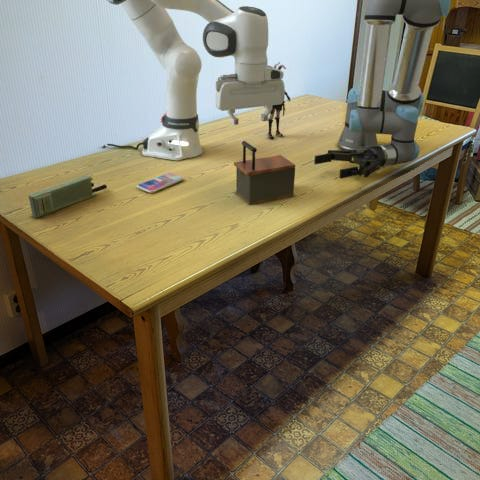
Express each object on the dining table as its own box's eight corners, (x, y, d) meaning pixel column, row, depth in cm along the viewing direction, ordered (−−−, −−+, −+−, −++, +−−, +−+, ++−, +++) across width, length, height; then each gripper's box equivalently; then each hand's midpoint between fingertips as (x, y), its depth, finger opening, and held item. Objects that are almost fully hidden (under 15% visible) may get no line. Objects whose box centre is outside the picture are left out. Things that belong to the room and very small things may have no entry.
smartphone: (184, 177, 167) (150, 191, 157) (184, 180, 167) (151, 194, 157) (168, 171, 171) (134, 185, 161) (168, 174, 171) (135, 188, 161)
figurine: (266, 142, 202) (269, 63, 187) (256, 138, 206) (258, 61, 191) (291, 134, 211) (296, 59, 196) (280, 131, 215) (284, 57, 200)
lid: (247, 175, 147) (247, 150, 143) (233, 165, 154) (233, 140, 150) (295, 167, 153) (297, 143, 149) (280, 157, 160) (281, 134, 156)
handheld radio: (30, 215, 144) (102, 188, 161) (37, 219, 142) (109, 191, 159) (26, 193, 140) (100, 168, 157) (33, 197, 138) (107, 171, 155)
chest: (249, 204, 152) (249, 175, 147) (236, 193, 159) (236, 164, 154) (293, 196, 158) (295, 167, 153) (278, 185, 165) (280, 157, 160)
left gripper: (220, 77, 131) (220, 129, 138) (288, 71, 139) (285, 121, 146) (211, 73, 136) (212, 123, 143) (277, 67, 144) (275, 115, 151)
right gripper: (403, 180, 163) (350, 192, 154) (353, 155, 182) (304, 165, 173) (407, 157, 159) (353, 168, 150) (356, 135, 178) (306, 144, 170)
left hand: (249, 122), depth 145 cm, fingers open, 8 cm apart
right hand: (327, 166), depth 162 cm, fingers open, 13 cm apart
